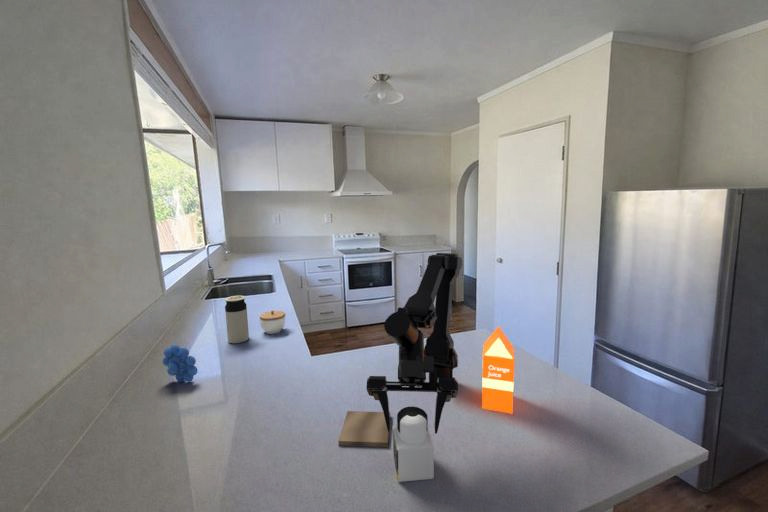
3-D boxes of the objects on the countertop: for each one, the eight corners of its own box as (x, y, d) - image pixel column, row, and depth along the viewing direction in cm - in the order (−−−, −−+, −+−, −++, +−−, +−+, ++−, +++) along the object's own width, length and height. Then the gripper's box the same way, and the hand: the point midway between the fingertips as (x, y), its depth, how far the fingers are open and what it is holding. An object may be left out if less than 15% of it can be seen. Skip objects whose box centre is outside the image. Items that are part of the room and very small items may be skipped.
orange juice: (511, 395, 91) (514, 326, 89) (513, 413, 83) (515, 338, 80) (482, 390, 94) (484, 323, 91) (481, 408, 86) (482, 335, 83)
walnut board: (390, 415, 83) (390, 412, 83) (387, 446, 72) (387, 442, 72) (347, 414, 84) (347, 411, 84) (338, 445, 73) (338, 440, 73)
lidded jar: (276, 325, 152) (275, 305, 151) (291, 330, 146) (290, 309, 144) (255, 332, 143) (254, 312, 142) (270, 337, 137) (269, 316, 136)
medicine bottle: (393, 455, 70) (392, 403, 68) (426, 452, 70) (426, 401, 69) (397, 483, 63) (396, 425, 61) (434, 479, 63) (434, 422, 62)
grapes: (154, 387, 100) (149, 349, 98) (172, 376, 106) (168, 340, 104) (187, 390, 97) (182, 352, 96) (203, 379, 104) (199, 343, 102)
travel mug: (253, 338, 136) (249, 296, 134) (235, 345, 130) (231, 301, 127) (241, 335, 141) (238, 294, 138) (224, 341, 134) (220, 298, 132)
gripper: (366, 339, 68) (360, 423, 58) (457, 340, 66) (466, 426, 57) (371, 358, 77) (366, 433, 67) (452, 360, 75) (458, 436, 66)
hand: (412, 432), depth 64 cm, fingers open, 9 cm apart
